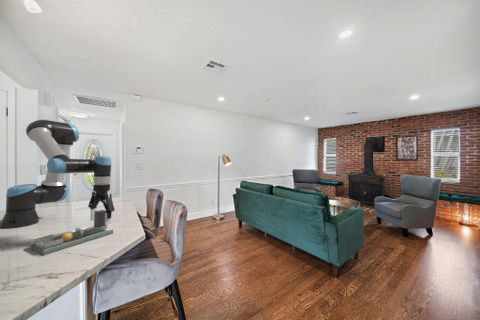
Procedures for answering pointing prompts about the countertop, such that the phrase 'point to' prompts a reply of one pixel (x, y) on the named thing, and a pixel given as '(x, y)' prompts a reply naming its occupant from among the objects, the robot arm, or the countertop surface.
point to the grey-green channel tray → (71, 241)
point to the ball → (67, 237)
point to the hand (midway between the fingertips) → (100, 222)
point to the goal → (47, 242)
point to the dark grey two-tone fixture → (98, 225)
